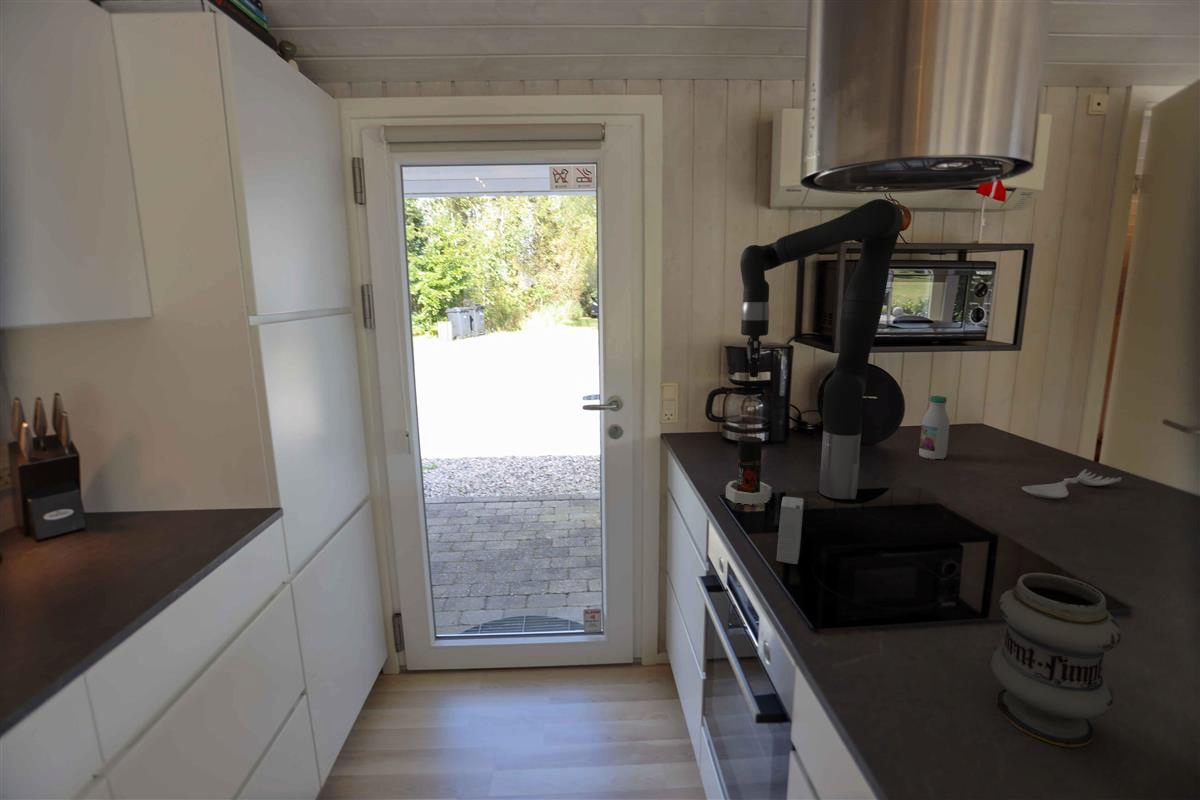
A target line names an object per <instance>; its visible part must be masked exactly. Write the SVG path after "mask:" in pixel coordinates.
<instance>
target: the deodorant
mask: <svg viewBox="0 0 1200 800" xmlns="http://www.w3.org/2000/svg"><path fill="white" fill-rule="evenodd" d="M762 448H763V438H761V437H759V436H758V437H757V436H752V435H751V436H750V435H749V436H748V435H745V436H744V435H743V436H740V437H738V448H737V449H738V451H737V452H738V453H737V471H736V472H737V473H736V475H737V476H736V481H737V491H741V492H747V493H757V492H760V482H761V476H762V475H761V473H762V472H761V471H762V456H763V455H762V454H763V453H762V451H763V449H762Z"/></svg>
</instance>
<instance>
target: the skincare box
mask: <svg viewBox="0 0 1200 800" xmlns="http://www.w3.org/2000/svg"><path fill="white" fill-rule="evenodd" d="M781 499H782V500H781V505H780V515H779V524H778V525H779V526H778V536H777V537H778V538H777V547H776V548H777V549H776V559H775V560H776V561H777V562H780V563H786V564H792V565H798V563H799V558H800V550H801V538H802V529H803V528H802V527H803V515H804V513H803V512H804V502H805V501H804V498H802V497H801V498H800V497H793V496H783V497H782V498H781Z"/></svg>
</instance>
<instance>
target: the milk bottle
mask: <svg viewBox="0 0 1200 800" xmlns="http://www.w3.org/2000/svg"><path fill="white" fill-rule="evenodd" d="M947 399H948V398H947V397H946V396H942V395H932V396H931V395H930V397H929V407H928V410H927V412H926V413H925V414H924V416H923V418H922V423H921V430H920V438H919V450H918V455H919V456H920V457H922V458H925V459H928V458H929V459H928V460H935V459H941V460H945V459H946V458H947V454H948V453H947V452H948V444H949V443H948V442H949V434H950V432H949V431H950V419H949V416H948V414H947V411H946V405H947ZM944 458H945V459H944Z"/></svg>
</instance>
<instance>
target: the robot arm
mask: <svg viewBox="0 0 1200 800" xmlns="http://www.w3.org/2000/svg"><path fill="white" fill-rule="evenodd" d="M903 217H904V215H903V211H902V210H901V209H900V207H899V206H898V205H897V204H895V203H894V202H892V201H891V200H887V199H884V198H877V199H872V200H870V201H868V202H867V203H866V202H865V203H863V204H862V205H860V206H858V207H856V208H854V209H853V210H851V211H849V212H846V213H845V214H842V215H840V216H839V217H836V218H834V219H831V220H829V221H826V222H823V223H821V224H818V225H814V226H811V227H808V228H805V229H803V230H799V231H796V232H793V233H790V234H787V235H785V236H782V237H779V238H778V239H777V240H776V241H774V242H772V243H769V244H765V245H757V244H752V245H748V246H747V247H745V248H744V249H743V251H742V253H741V257H740V260H739V261H740V263H739V265H740V267H739V268H740V273H741V275H740V276H741V280H742V281H741V282H742V285H743V293H742V294H743V295H742V308H741V317H740V318H741V323H740V324H741V326H740V334H741V335H742V336H747V337H748V338H747V341H746V354H747V360H748V363H747V364H748V365H747V372H748V374H749V377H750V378H758V376H759V363H760V362H761V355H762V351H761V350H762V346H763V344H762V341H761V340H760V337H761V336H762V337H763V336H768V335H769V329H770V328H769V326H770V325H769V324H770V305H769V303H770V284H769V282H768V281H767V280H766V278H765V277H766V276H765V275H766V274H765V272H766V271H769V270H773V269H775V268H778V267H780V266H782V265H785V264H786V263H787V264H788V263H792V262H796V261H799V260H801V259H805V258H808V257H810V256H814V255H816V254H819V253H820V252H822V251H825V250H827V249H829V248H832V247H833V246H836V245H840V244H842V243H845V242H850V241H855V240H862V243H861V250H860V255H859V259H858V263H857V266H856V268H855V270H854V272H853V273H852V277H851V279H850V281H849V283H848V284H847V288H846V290H845V294H844V298H843V302H842V308H841V311H840V312H841V313H840V321H839V323H840V324H839V353H838V356H837V361H836V363H835V367H834V370H833V373H832V375H831V377H830V376H829V378H828V379H827V381H826V382H825V384H824V389H823V398H822V403H823V404H822V422H823V423H822V424H823V432H822V440H821V442H822V443H821V444H822V446H821V460H820V473H819V484H818V485H819V486H818V487H819V488H818V489H819V491H818V492H819V494H821V495H822V496H824V497H828V498H830V499H837V500H857V492H858V481H859V469H860V468H859V467H860V451H861V438H862V427H863V426H862V425H863V424H862V411H863V410H862V409H863V408H862V407H863V397H864V396H865V393H866V390H867V376H868V366H869V358H870V353H871V350H872V347H873V344H874V341H875V340H876V339H875V338H876V335H877V332H878V329H879V325H880V321H881V316H882V312H883V308H884V303H885V298H886V297H885V296H886V292H887V286H888V281H889V274H890V273H889V271H890V267H891V260H892V258H893V257H892V256H893V255H894V252H895V251H894V250H895V247H896V243H897V241H898V238H899V235H900V233H901V229H902V226H903V221H904V219H903Z"/></svg>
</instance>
